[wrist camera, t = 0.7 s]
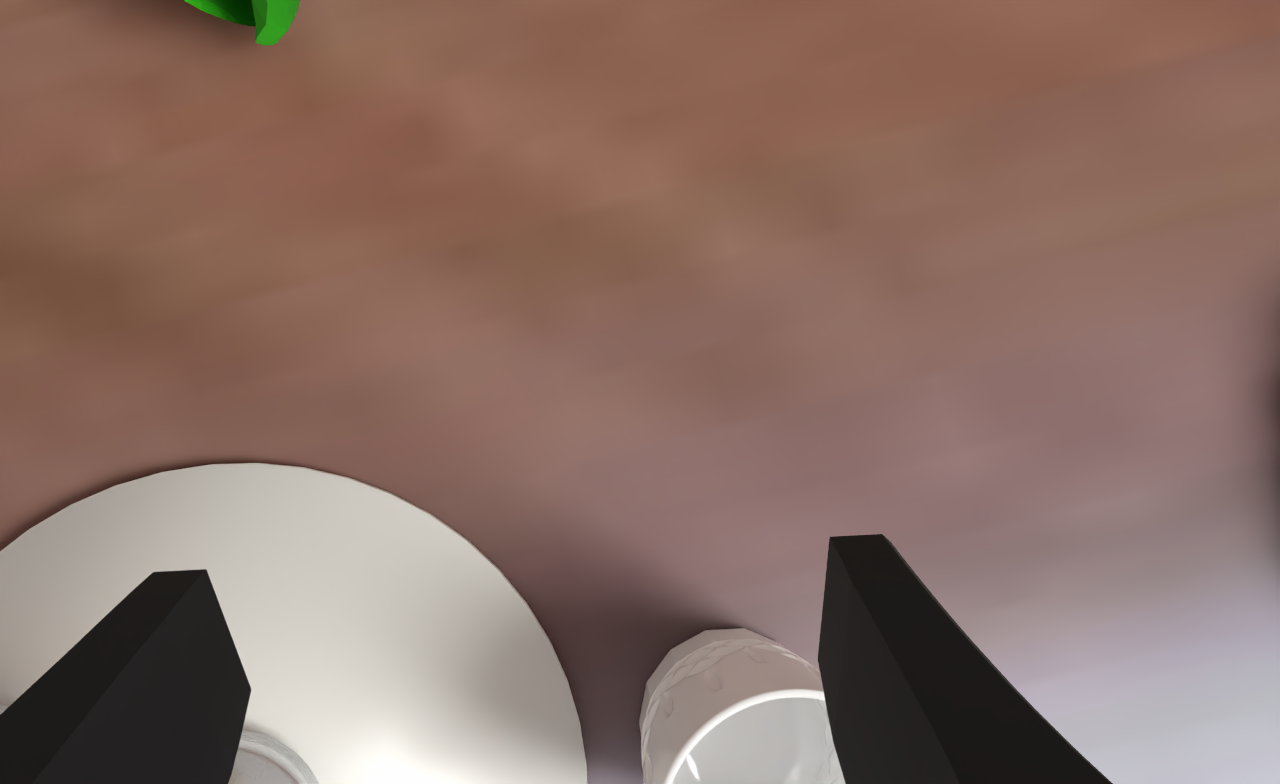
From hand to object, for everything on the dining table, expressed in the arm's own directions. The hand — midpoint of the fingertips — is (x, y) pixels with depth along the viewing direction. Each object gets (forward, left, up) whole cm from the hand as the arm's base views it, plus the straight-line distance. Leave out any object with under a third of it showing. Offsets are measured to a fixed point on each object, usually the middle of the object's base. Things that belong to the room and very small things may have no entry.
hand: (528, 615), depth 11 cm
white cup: (-6, -10, -25) cm, 28 cm away
